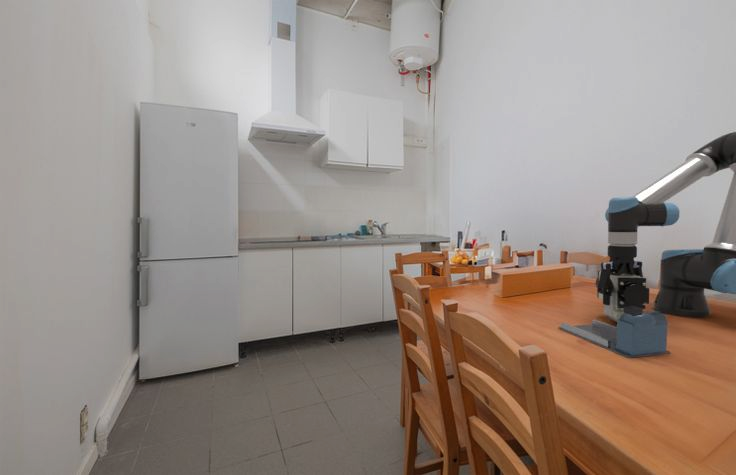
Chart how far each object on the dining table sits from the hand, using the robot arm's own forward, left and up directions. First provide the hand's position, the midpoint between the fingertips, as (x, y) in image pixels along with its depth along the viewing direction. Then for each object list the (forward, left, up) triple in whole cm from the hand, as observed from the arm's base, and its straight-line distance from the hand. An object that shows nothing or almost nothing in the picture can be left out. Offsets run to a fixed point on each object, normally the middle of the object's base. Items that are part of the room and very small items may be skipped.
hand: (620, 313), depth 108 cm
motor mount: (+16, +10, -4) cm, 20 cm away
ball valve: (0, 0, -3) cm, 3 cm away
